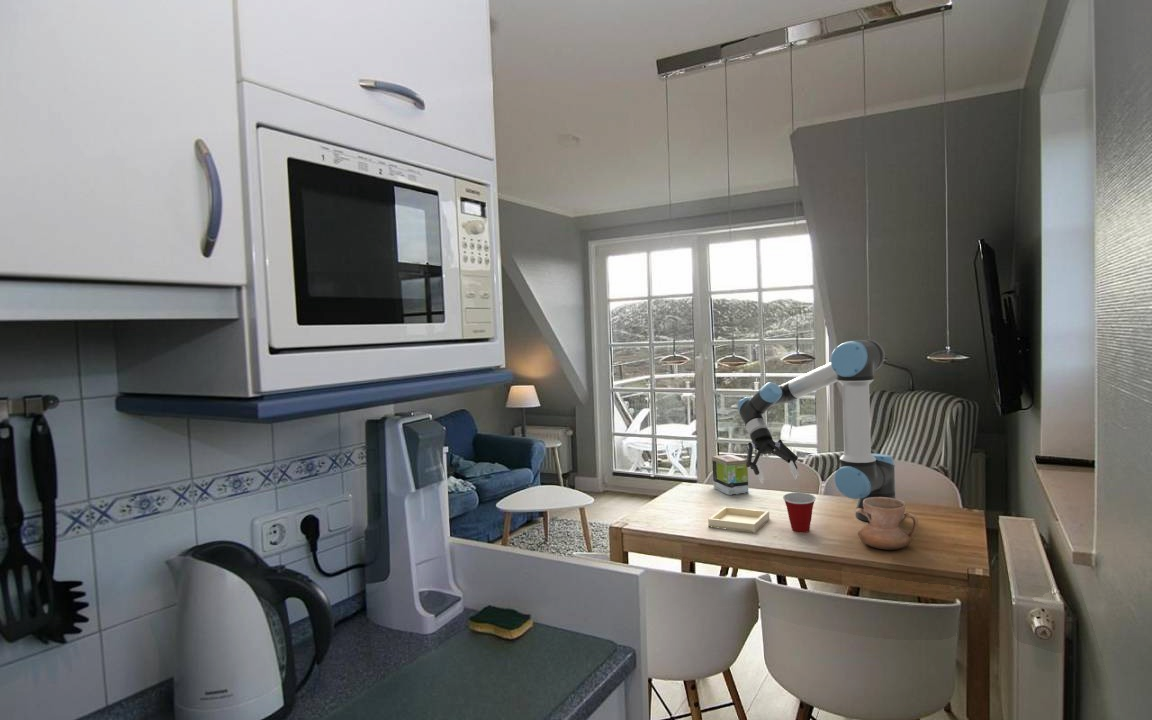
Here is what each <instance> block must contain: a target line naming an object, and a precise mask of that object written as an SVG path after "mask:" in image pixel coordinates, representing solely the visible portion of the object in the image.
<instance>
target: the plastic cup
mask: <svg viewBox="0 0 1152 720" xmlns="http://www.w3.org/2000/svg"><path fill="white" fill-rule="evenodd" d="M782 498H783V500H784V502H785V506H786V510H787V515H788V520H789V522H790V527H791V530H792V531H793V532H795V533H802V534H804V533H808V532H810V528H811V522H812V517H813V508H814V504H815V501H816V496H815V495H813V494H810V493H806V492H797V491H796V492H790V493H789V492H788V493H786V494H784V495H783V496H782Z"/></svg>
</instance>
